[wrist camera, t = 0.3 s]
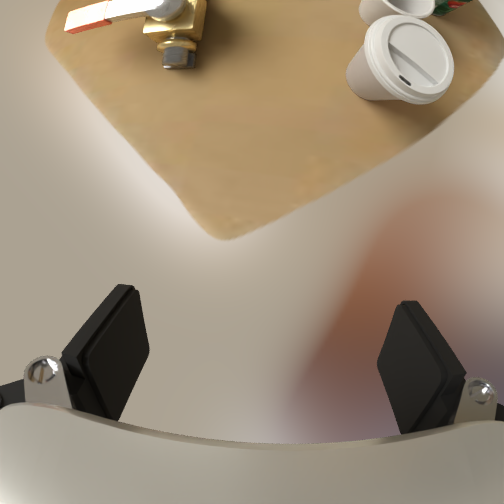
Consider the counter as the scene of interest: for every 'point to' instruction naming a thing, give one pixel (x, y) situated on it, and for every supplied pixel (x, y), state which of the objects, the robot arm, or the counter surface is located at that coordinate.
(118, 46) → the counter surface
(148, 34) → the valve body
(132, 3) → the lever
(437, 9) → the canned tomato
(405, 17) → the coffee cup
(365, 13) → the dixie cup
